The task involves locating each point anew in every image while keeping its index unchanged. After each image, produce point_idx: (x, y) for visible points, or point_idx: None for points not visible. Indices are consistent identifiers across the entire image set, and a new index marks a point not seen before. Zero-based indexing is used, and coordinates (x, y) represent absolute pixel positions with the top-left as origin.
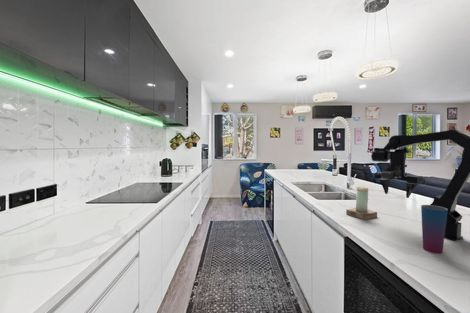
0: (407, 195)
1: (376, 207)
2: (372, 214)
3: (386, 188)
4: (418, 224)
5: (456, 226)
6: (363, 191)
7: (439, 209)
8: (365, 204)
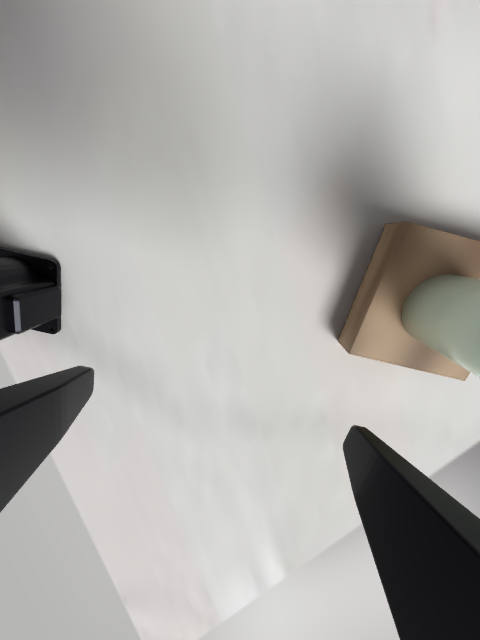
0: (46, 376)
1: None
2: (363, 308)
3: (398, 516)
4: (165, 371)
5: None
6: None
7: None
8: (456, 308)
